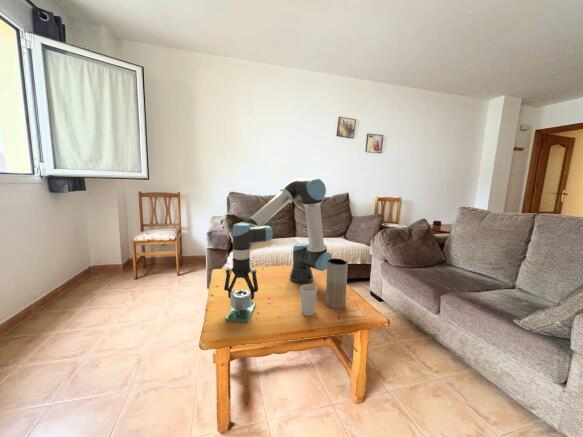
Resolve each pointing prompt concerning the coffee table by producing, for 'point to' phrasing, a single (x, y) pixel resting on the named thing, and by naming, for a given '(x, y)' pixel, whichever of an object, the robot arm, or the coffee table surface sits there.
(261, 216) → the robot arm
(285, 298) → the coffee table surface
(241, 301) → the ring
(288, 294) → the coffee table surface
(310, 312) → the cup
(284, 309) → the coffee table surface
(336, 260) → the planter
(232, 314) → the shaft stand
